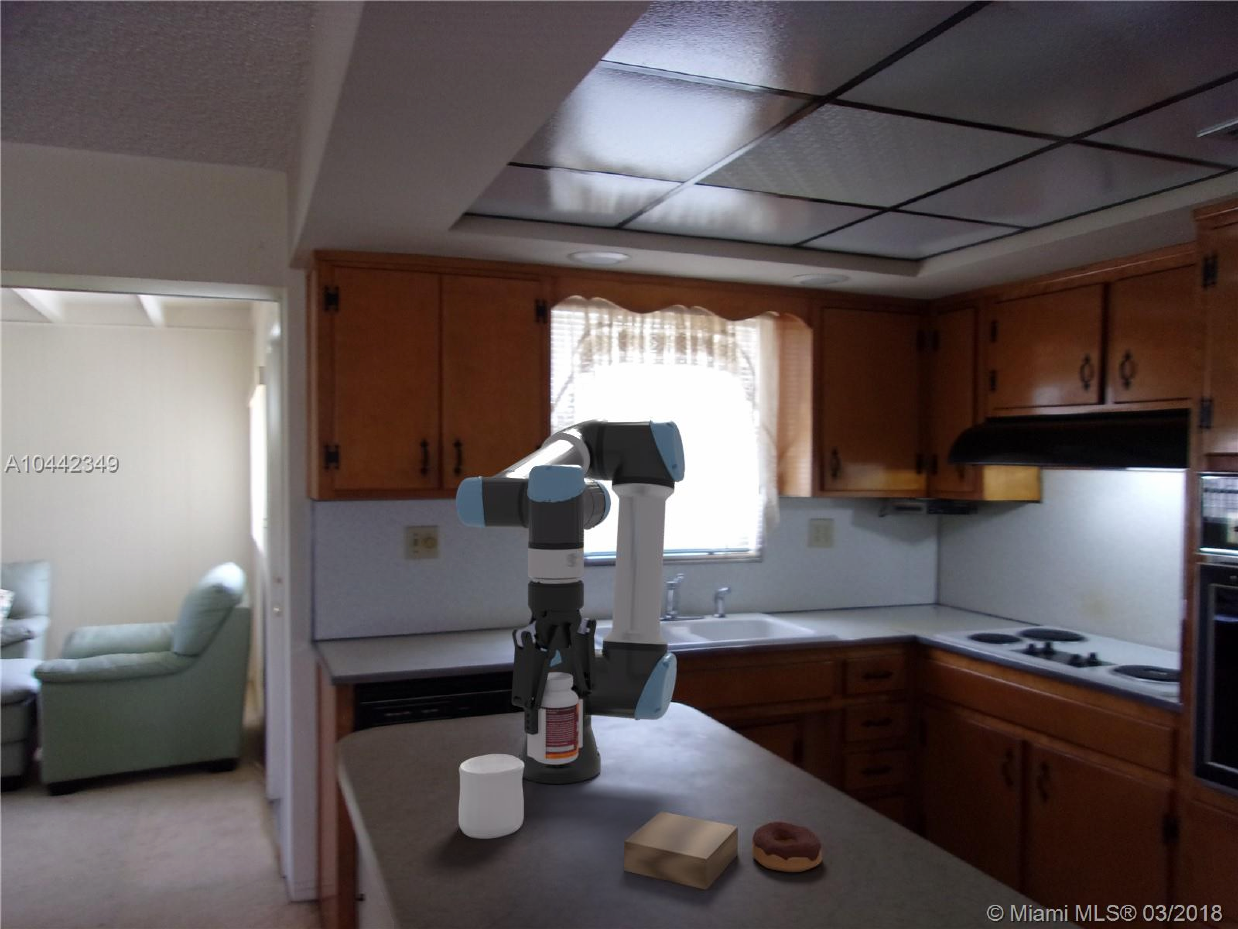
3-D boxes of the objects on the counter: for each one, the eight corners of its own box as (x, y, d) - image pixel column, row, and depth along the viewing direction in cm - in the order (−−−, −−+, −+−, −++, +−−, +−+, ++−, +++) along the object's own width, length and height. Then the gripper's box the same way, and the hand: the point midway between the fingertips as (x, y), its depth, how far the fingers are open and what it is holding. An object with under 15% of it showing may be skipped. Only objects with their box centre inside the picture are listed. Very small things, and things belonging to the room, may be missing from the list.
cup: (533, 819, 141) (534, 757, 141) (504, 844, 131) (505, 777, 131) (479, 811, 144) (479, 750, 144) (447, 835, 134) (447, 770, 134)
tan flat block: (624, 870, 123) (624, 841, 123) (660, 838, 134) (660, 811, 134) (706, 890, 117) (706, 859, 117) (737, 854, 128) (737, 826, 128)
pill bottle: (587, 760, 120) (587, 677, 120) (546, 769, 117) (546, 684, 117) (563, 748, 126) (564, 668, 125) (524, 755, 122) (524, 674, 122)
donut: (807, 883, 120) (807, 853, 120) (739, 865, 125) (739, 836, 125) (832, 855, 129) (832, 827, 129) (768, 840, 134) (768, 813, 134)
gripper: (521, 589, 112) (520, 776, 112) (624, 575, 126) (623, 741, 126) (482, 583, 117) (481, 762, 117) (585, 570, 131) (585, 730, 131)
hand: (555, 751), depth 121 cm, fingers closed on pill bottle, 6 cm apart
